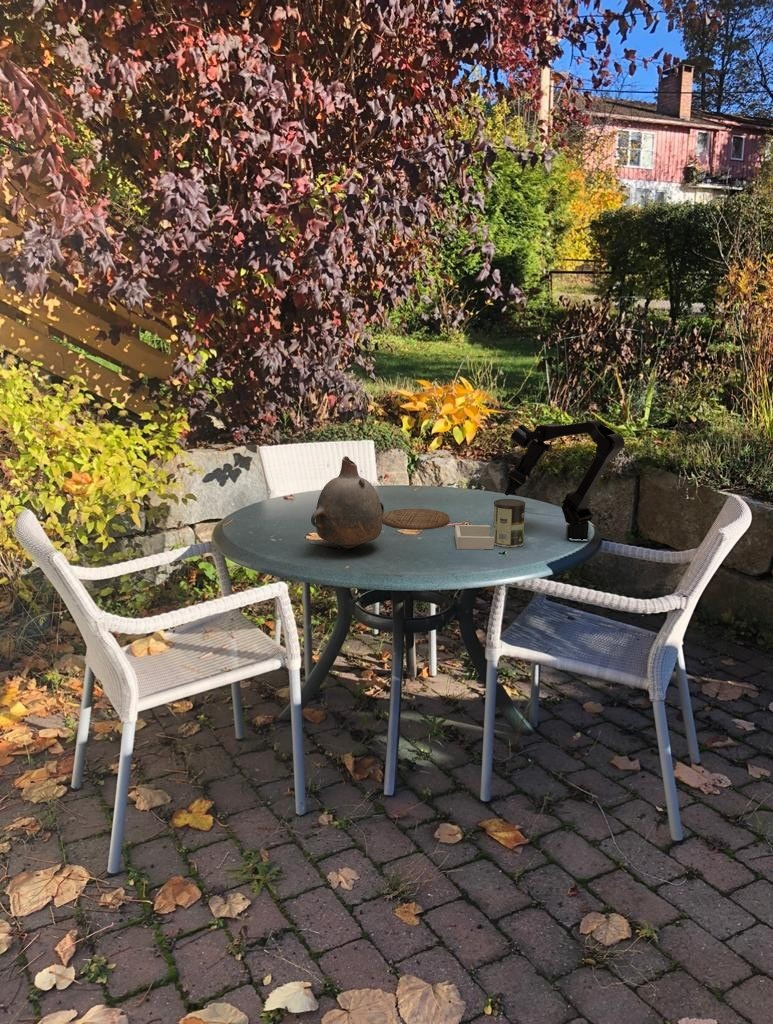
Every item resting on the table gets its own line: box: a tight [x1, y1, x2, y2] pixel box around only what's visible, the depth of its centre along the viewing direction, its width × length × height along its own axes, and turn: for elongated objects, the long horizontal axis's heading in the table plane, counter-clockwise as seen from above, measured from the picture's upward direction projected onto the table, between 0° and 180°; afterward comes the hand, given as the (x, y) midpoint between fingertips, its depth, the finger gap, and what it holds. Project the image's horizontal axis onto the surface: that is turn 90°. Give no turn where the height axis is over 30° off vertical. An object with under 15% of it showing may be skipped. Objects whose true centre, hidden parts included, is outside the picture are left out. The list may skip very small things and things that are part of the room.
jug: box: [310, 455, 385, 550], centre depth 254 cm, size 24×21×30 cm
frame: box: [454, 524, 495, 550], centre depth 264 cm, size 12×15×4 cm
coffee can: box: [492, 498, 527, 548], centre depth 262 cm, size 10×10×14 cm
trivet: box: [382, 508, 450, 531], centre depth 292 cm, size 25×25×2 cm
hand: (507, 492), depth 280 cm, fingers open, 9 cm apart
